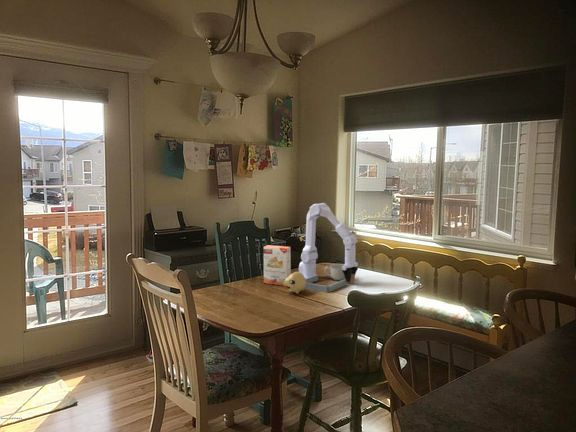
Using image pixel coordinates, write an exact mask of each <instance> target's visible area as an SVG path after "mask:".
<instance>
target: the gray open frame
mask: <svg viewBox="0 0 576 432" xmlns="http://www.w3.org/2000/svg"><path fill="white" fill-rule="evenodd" d="M318 276H319V275H318V274H316V275H315V276H312V277H309V278H305V279H306V284H305V289H307V290H310V291H311V290H312V291H317V292H322V293H323V292H324V293H331V292H333V291H335V290H338V289H339V288H340V289H341V288H342V287H345V286H347V284H346V279H344V280H340V281H339V280H338V281H337V282H334V283H331V284H329V285H322V284H318V283H314V282H318V281H319V277H318Z"/></svg>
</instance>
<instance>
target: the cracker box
mask: <svg viewBox="0 0 576 432" xmlns="http://www.w3.org/2000/svg"><path fill="white" fill-rule="evenodd" d="M291 251H292V250H291V246H283V245H282V246H281V245H271V244H270V245H269V244H267V245H265V246H263V284H264V283H266V284H265V285H272V284H274V285H273V286H282V287H285V286H284V284H283V279H285V278H286V277H289V276H290V275H291V274H292V272H291V270H292V269H291V267H292V264H291V263H292V262H291V261H292V260H291V257H292V255H291Z"/></svg>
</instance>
